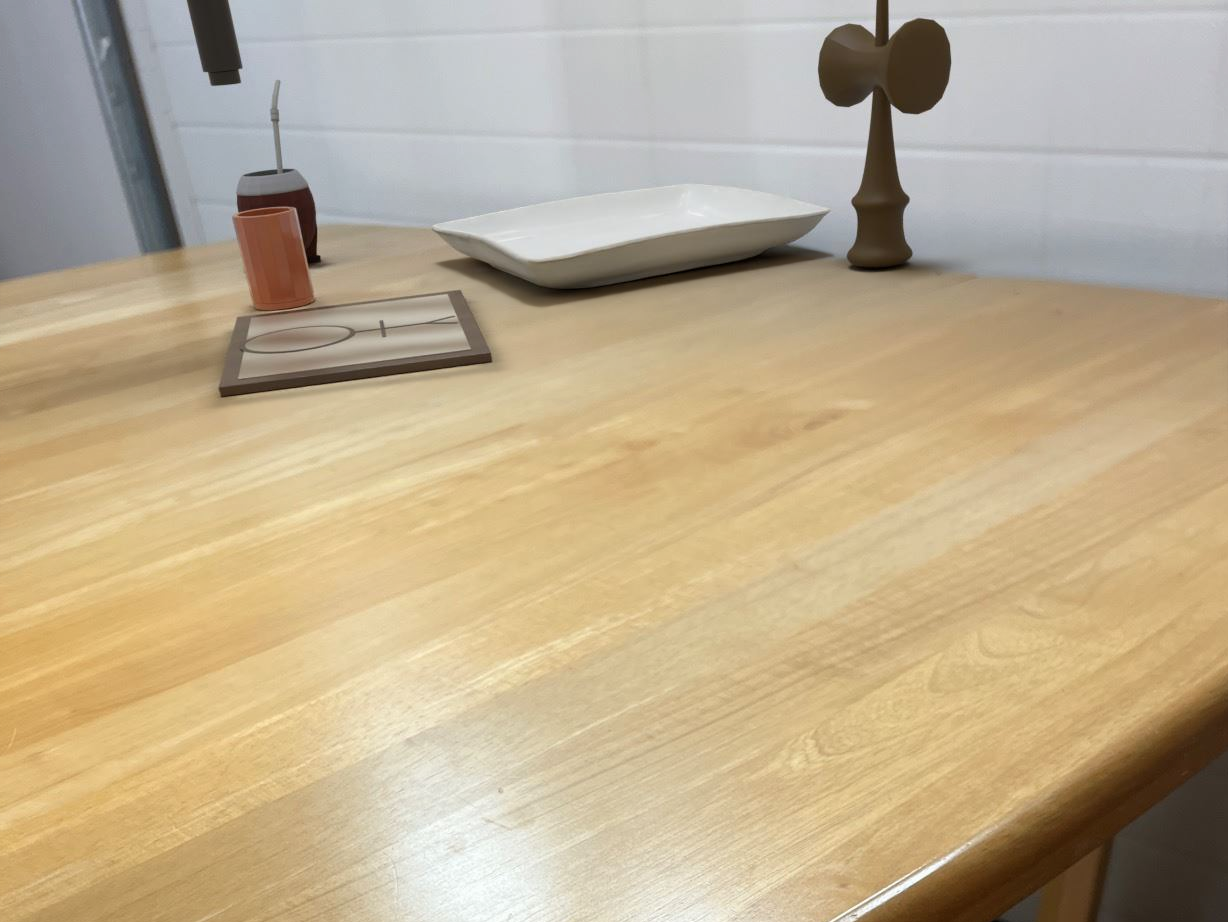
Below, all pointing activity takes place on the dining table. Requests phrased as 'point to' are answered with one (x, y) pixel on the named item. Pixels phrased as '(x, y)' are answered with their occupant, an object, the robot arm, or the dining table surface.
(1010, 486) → the dining table surface
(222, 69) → the marker
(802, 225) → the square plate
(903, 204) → the kendama
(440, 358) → the framed picture
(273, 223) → the pen cup
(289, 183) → the mate gourd
